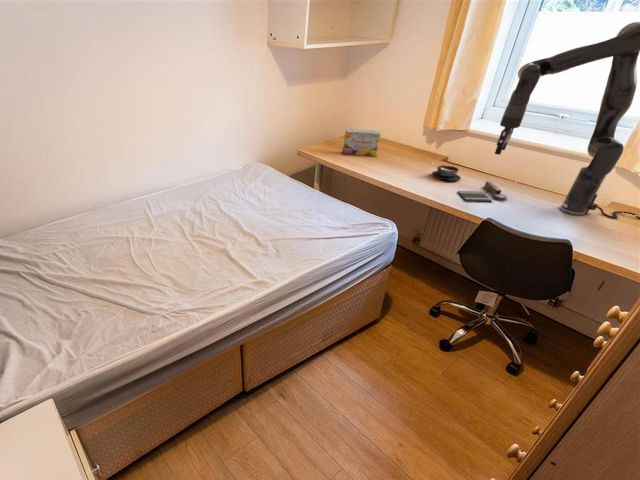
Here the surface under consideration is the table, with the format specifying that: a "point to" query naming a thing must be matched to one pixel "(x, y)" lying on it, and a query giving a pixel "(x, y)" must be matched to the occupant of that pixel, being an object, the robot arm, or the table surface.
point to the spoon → (495, 191)
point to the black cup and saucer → (446, 173)
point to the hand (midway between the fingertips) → (499, 151)
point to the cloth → (474, 196)
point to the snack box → (361, 142)
